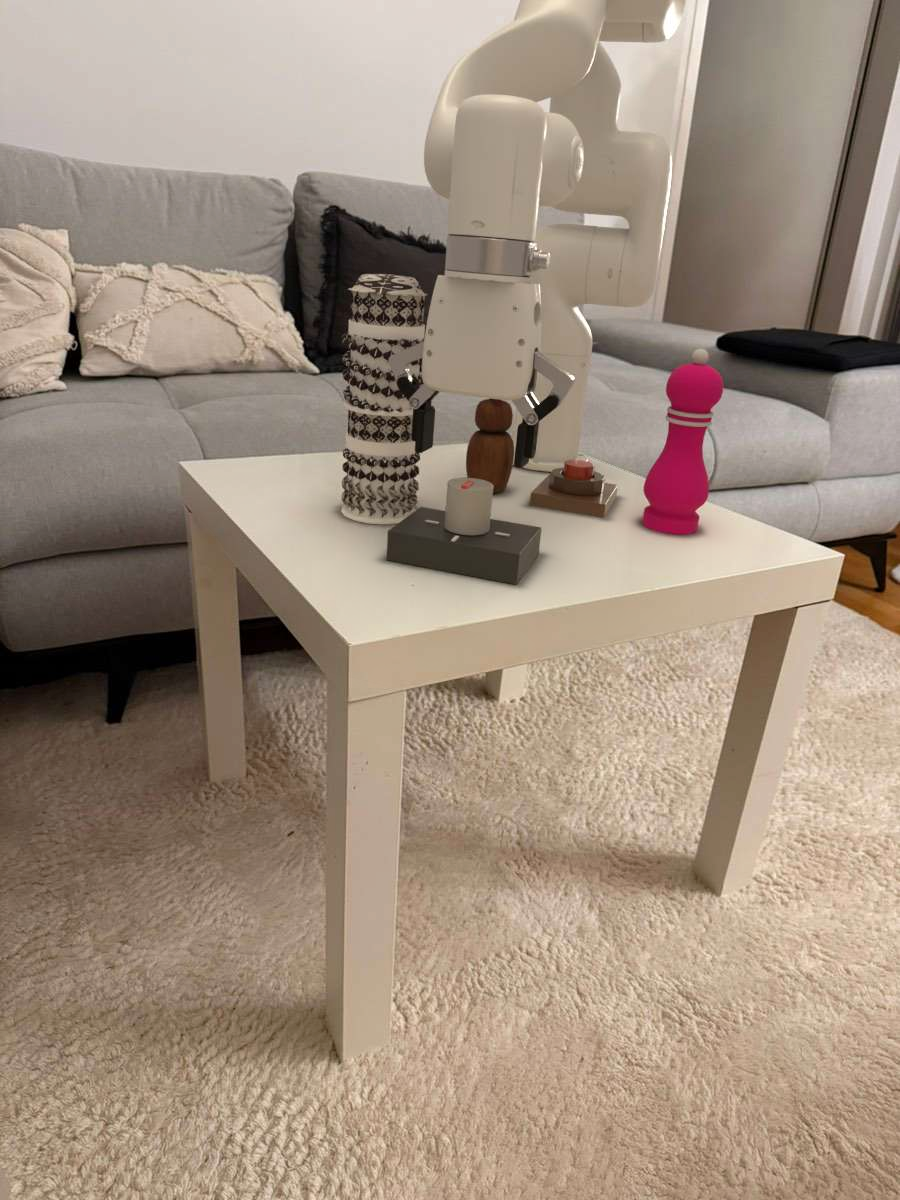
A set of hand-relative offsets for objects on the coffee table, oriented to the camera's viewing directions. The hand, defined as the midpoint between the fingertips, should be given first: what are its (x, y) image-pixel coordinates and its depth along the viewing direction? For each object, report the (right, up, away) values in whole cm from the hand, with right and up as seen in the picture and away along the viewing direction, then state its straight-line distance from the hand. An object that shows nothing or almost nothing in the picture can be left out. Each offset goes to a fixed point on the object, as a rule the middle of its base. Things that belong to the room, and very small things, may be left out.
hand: (471, 457), depth 80 cm
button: (+14, +2, +24) cm, 28 cm away
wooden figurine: (+3, 0, +28) cm, 28 cm away
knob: (0, -6, +3) cm, 7 cm away
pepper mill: (+23, -5, +19) cm, 30 cm away
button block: (+13, -1, +26) cm, 29 cm away
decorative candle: (-10, -4, +16) cm, 19 cm away
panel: (-1, -9, +4) cm, 10 cm away
